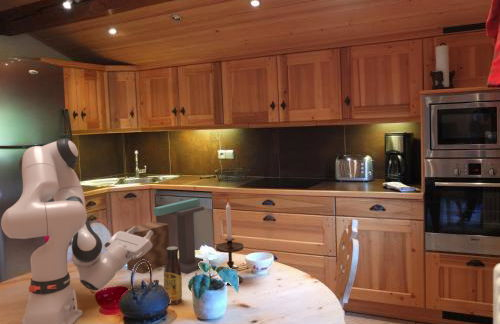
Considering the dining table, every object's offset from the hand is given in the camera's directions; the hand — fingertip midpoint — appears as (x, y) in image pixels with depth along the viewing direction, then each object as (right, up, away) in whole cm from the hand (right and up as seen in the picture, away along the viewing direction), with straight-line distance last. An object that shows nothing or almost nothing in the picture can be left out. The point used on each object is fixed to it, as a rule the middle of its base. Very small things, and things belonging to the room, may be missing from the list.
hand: (144, 229), depth 182 cm
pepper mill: (-42, -22, +16) cm, 50 cm away
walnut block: (-3, -20, +23) cm, 30 cm away
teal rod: (+11, +6, +15) cm, 20 cm away
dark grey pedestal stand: (+14, -19, +20) cm, 31 cm away
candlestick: (+35, -21, 0) cm, 40 cm away
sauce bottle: (+15, -23, -18) cm, 33 cm away
